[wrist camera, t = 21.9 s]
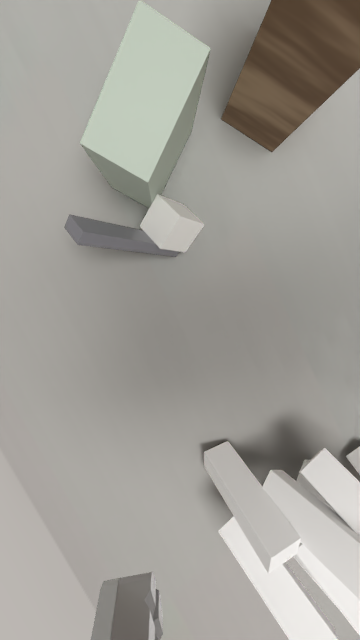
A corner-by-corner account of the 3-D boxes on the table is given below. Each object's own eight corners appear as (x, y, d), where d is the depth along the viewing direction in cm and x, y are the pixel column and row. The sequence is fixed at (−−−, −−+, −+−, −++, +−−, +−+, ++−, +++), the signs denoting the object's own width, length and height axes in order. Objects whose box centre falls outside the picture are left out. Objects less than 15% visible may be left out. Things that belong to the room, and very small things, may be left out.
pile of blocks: (193, 506, 62) (306, 789, 36) (189, 430, 45) (407, 875, 18) (314, 446, 72) (473, 631, 45) (350, 364, 55) (644, 588, 28)
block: (153, 210, 43) (147, 182, 27) (111, 187, 42) (79, 143, 25) (191, 131, 40) (210, 48, 24) (148, 104, 39) (139, -1, 23)
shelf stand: (271, 152, 42) (499, -66, 14) (221, 119, 40) (356, -201, 12) (315, 71, 40) (688, -382, 12) (263, 33, 38) (544, -589, 10)
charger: (82, 250, 29) (108, 192, 25) (60, 221, 30) (82, 164, 27) (179, 260, 42) (204, 224, 39) (161, 240, 44) (183, 204, 41)
